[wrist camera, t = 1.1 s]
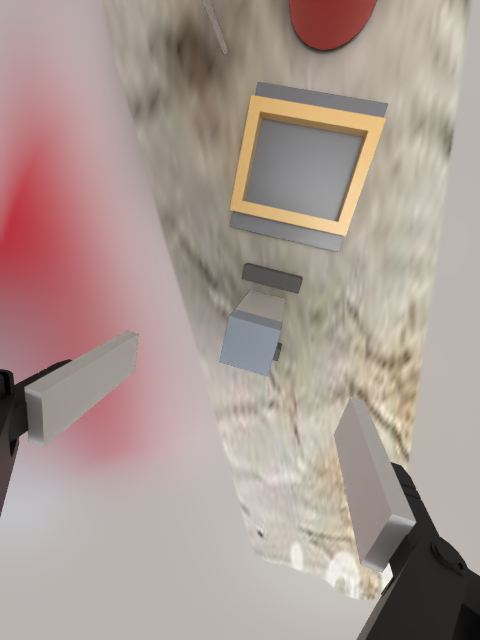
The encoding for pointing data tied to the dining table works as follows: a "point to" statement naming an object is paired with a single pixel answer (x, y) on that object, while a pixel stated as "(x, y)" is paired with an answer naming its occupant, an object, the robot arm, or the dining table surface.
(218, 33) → the lollipop
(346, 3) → the beer can
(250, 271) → the dark gray parallel bars
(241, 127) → the dining table surface
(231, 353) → the plug
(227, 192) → the dining table surface
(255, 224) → the panel
